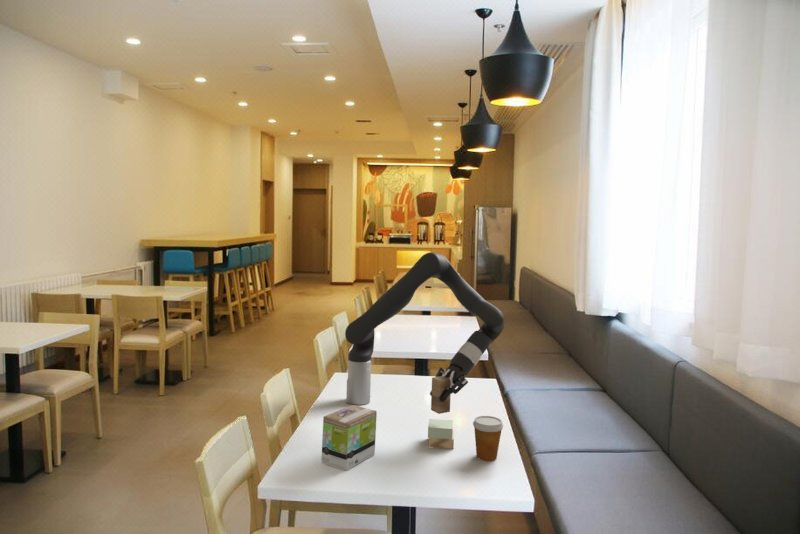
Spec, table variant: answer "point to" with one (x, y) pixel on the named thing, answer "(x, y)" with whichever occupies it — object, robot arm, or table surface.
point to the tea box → (348, 436)
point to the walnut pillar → (437, 389)
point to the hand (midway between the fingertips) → (436, 398)
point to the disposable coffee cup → (487, 436)
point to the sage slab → (440, 429)
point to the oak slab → (441, 442)
